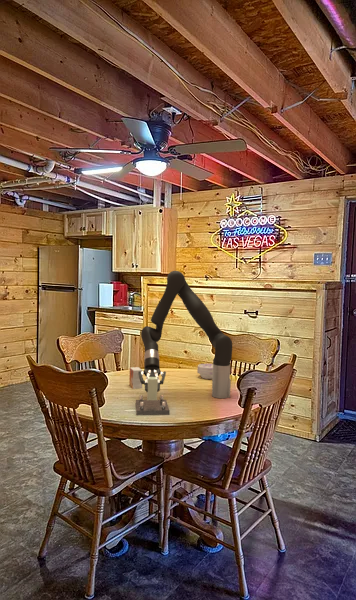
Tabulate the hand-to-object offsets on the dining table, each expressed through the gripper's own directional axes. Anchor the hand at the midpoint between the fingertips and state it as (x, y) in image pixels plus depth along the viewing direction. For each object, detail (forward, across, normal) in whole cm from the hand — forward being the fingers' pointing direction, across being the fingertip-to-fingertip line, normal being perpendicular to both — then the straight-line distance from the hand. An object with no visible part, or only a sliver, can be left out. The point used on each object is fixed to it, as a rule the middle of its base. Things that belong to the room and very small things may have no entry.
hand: (152, 391), depth 198 cm
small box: (-23, -7, +37) cm, 44 cm away
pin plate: (+5, 0, +7) cm, 9 cm away
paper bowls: (-39, +40, +52) cm, 76 cm away
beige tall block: (+2, 0, +4) cm, 4 cm away
